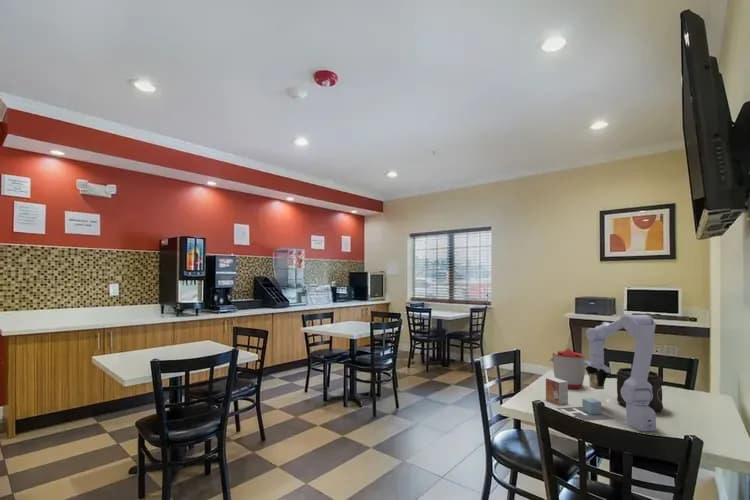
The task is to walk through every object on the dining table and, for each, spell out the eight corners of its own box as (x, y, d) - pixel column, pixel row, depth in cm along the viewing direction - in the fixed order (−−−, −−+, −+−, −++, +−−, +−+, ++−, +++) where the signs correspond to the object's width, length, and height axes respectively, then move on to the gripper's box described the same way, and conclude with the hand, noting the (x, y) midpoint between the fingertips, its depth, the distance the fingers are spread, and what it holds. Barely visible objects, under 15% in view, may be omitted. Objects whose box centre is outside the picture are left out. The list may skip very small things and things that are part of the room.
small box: (545, 400, 181) (545, 377, 182) (554, 399, 183) (554, 376, 183) (559, 405, 173) (558, 382, 174) (568, 404, 175) (568, 381, 176)
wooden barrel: (653, 402, 180) (652, 368, 181) (671, 415, 162) (670, 378, 163) (610, 398, 185) (609, 365, 186) (623, 411, 167) (622, 375, 168)
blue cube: (601, 413, 162) (601, 401, 163) (591, 414, 162) (590, 402, 162) (592, 409, 167) (592, 398, 168) (582, 410, 166) (582, 398, 167)
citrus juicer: (558, 379, 217) (557, 344, 219) (590, 386, 204) (589, 349, 205) (544, 384, 208) (544, 347, 209) (578, 392, 194) (577, 352, 195)
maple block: (603, 388, 172) (603, 375, 172) (596, 389, 171) (595, 375, 171) (597, 386, 176) (596, 373, 176) (589, 386, 175) (589, 373, 175)
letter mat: (614, 420, 157) (614, 418, 157) (580, 422, 154) (580, 421, 154) (587, 407, 171) (587, 406, 172) (556, 409, 169) (556, 408, 169)
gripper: (577, 351, 181) (578, 380, 180) (601, 358, 167) (601, 389, 166) (590, 351, 182) (591, 380, 181) (614, 357, 168) (615, 389, 167)
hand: (597, 384), depth 174 cm, fingers closed on maple block, 4 cm apart
